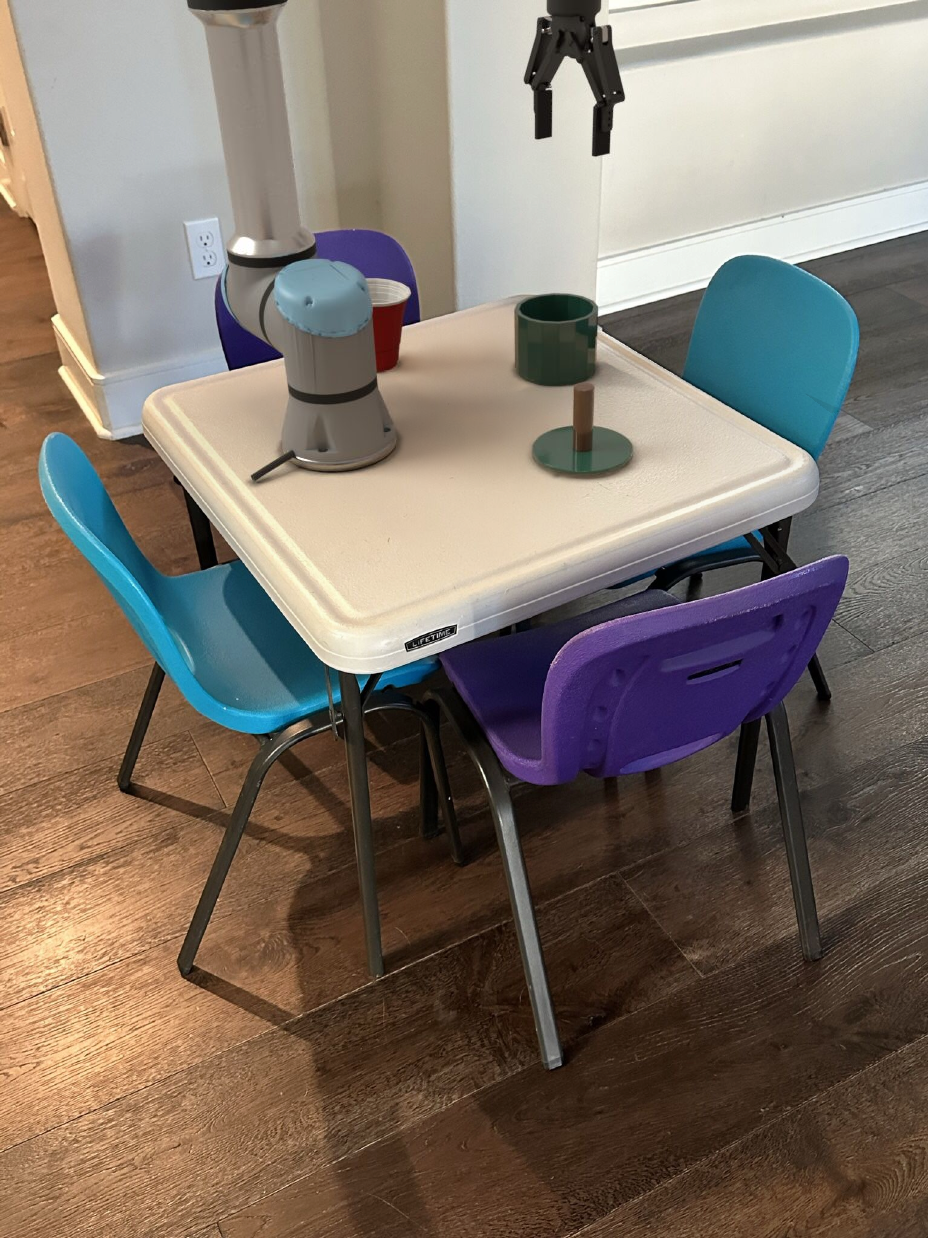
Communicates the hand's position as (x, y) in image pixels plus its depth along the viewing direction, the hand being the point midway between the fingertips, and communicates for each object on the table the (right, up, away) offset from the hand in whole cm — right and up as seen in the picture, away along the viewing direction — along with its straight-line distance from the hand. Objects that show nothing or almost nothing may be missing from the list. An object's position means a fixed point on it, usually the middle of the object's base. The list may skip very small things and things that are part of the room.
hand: (571, 146), depth 166 cm
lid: (0, -48, -19) cm, 51 cm away
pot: (-2, -32, +4) cm, 32 cm away
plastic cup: (-29, -31, +8) cm, 43 cm away
